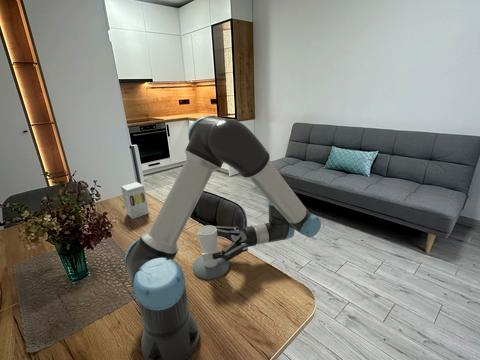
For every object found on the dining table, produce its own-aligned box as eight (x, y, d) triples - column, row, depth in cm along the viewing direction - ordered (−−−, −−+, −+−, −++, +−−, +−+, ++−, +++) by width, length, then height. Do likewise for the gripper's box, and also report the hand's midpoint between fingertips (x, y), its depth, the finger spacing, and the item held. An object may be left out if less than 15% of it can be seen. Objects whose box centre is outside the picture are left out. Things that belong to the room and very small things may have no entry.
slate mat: (236, 269, 96) (235, 267, 95) (201, 285, 89) (201, 282, 89) (219, 250, 107) (219, 248, 107) (187, 263, 101) (187, 260, 100)
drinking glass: (217, 256, 102) (213, 223, 97) (222, 266, 96) (219, 232, 91) (200, 261, 100) (196, 227, 94) (204, 271, 94) (200, 237, 89)
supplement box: (132, 219, 137) (125, 190, 131) (126, 213, 143) (119, 186, 137) (149, 213, 143) (144, 185, 137) (142, 208, 149) (137, 181, 143)
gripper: (266, 263, 89) (206, 277, 84) (246, 227, 112) (197, 237, 107) (266, 245, 86) (203, 258, 81) (245, 212, 109) (195, 221, 104)
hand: (200, 246), depth 94 cm, fingers open, 13 cm apart
